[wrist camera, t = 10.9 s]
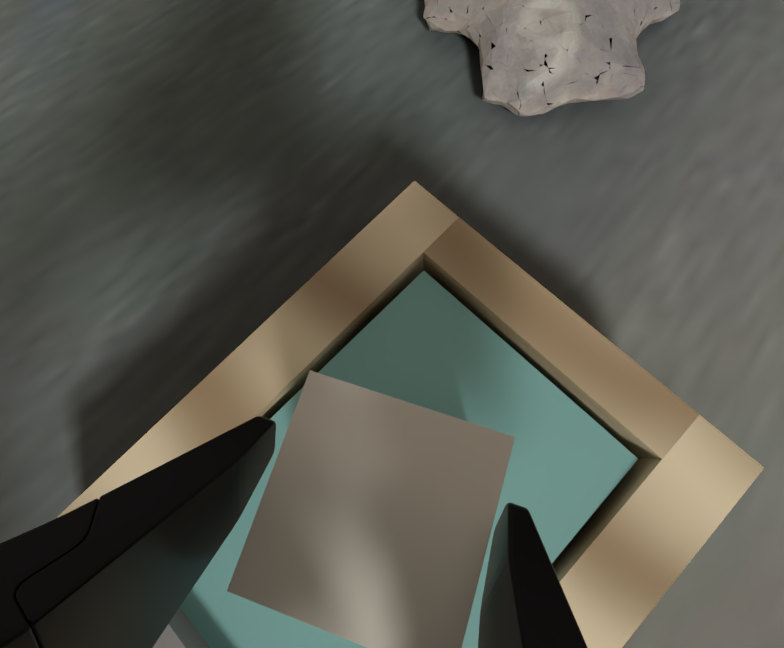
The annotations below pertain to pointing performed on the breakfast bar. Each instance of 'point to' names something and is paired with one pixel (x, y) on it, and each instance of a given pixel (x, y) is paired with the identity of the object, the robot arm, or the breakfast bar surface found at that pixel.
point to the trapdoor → (448, 396)
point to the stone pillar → (375, 518)
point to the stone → (552, 47)
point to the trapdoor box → (536, 345)
